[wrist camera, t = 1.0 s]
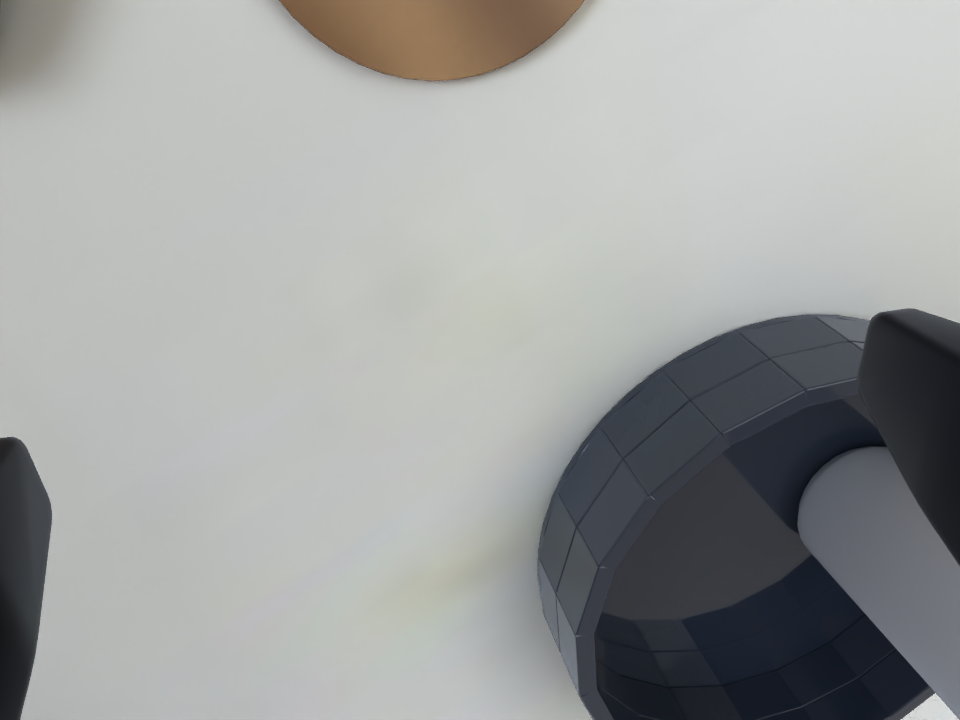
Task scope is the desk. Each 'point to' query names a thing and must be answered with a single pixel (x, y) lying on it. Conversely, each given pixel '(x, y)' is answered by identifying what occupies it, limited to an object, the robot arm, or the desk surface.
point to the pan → (719, 541)
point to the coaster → (432, 32)
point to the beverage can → (888, 560)
